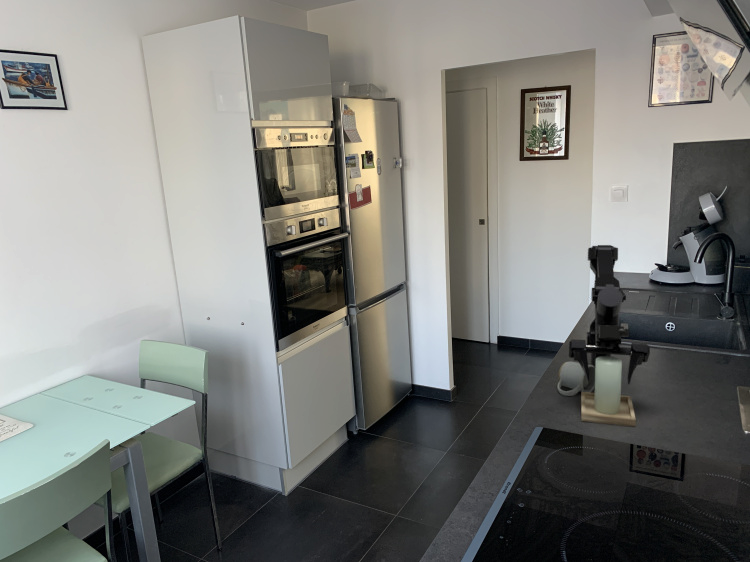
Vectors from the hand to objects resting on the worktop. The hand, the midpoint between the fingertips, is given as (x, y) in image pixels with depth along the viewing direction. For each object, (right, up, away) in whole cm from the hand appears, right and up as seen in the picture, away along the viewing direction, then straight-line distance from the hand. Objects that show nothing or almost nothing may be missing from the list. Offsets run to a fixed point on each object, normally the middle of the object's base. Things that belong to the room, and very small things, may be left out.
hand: (608, 381), depth 138 cm
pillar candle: (+1, -7, +3) cm, 8 cm away
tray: (+1, -8, +3) cm, 9 cm away
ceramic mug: (-2, -6, +17) cm, 18 cm away
